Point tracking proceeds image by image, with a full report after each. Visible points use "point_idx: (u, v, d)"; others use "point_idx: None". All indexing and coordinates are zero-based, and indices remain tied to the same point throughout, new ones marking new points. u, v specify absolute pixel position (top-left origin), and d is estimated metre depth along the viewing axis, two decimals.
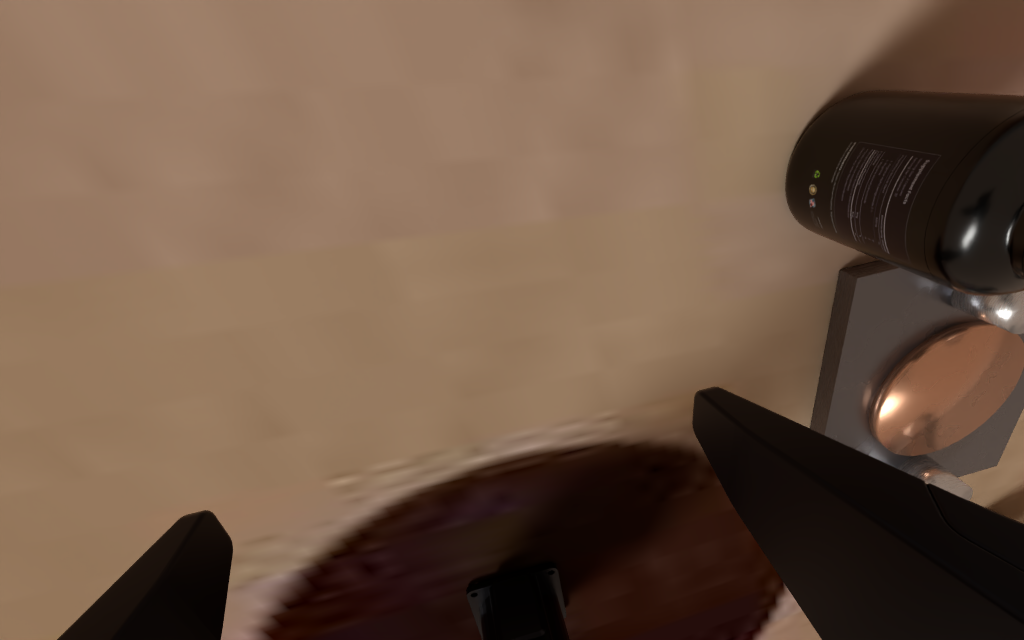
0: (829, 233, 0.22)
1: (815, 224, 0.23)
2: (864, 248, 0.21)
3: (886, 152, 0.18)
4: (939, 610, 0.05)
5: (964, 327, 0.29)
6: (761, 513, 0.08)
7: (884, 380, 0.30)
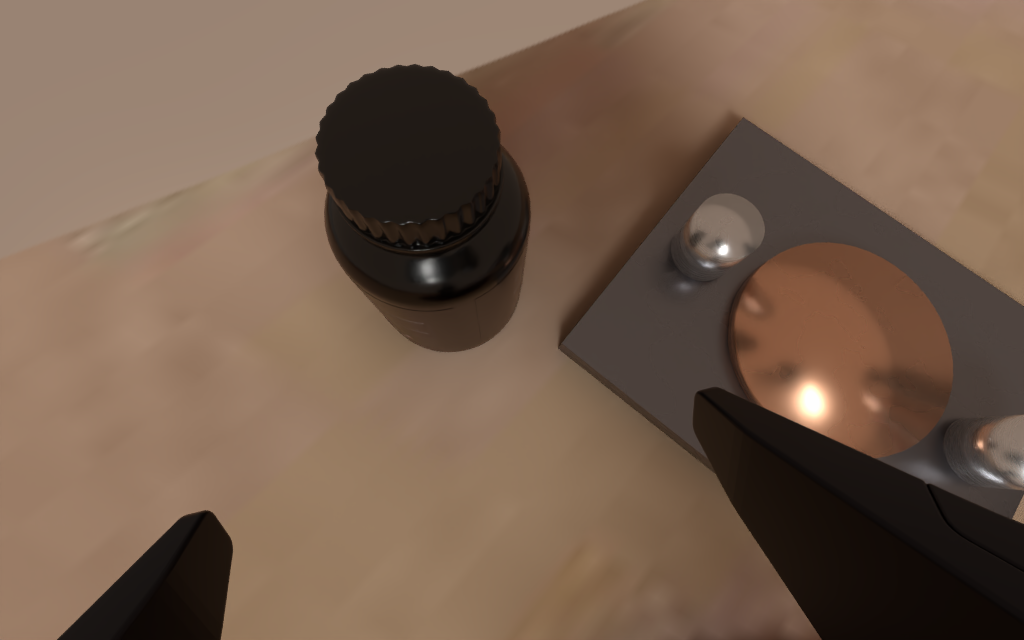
0: (442, 342, 0.20)
1: (437, 345, 0.21)
2: (440, 332, 0.18)
3: None
4: (940, 610, 0.05)
5: (744, 284, 0.23)
6: (761, 513, 0.08)
7: (745, 394, 0.22)
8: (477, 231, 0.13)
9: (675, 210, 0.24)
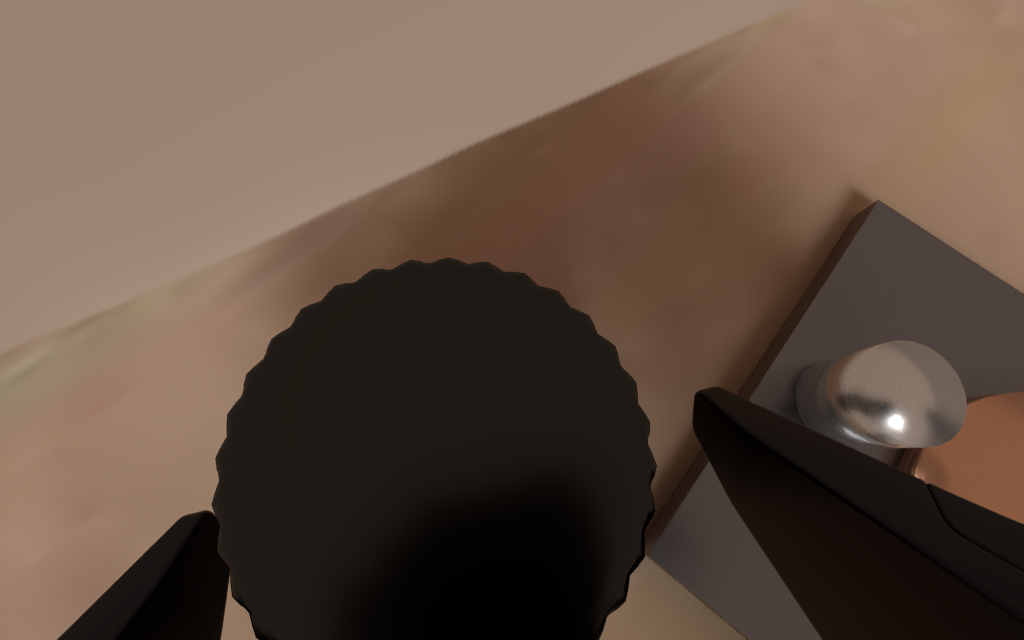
0: None
1: None
2: None
3: None
4: (939, 610, 0.05)
5: (911, 457, 0.16)
6: (761, 513, 0.08)
7: None
8: None
9: (797, 339, 0.17)
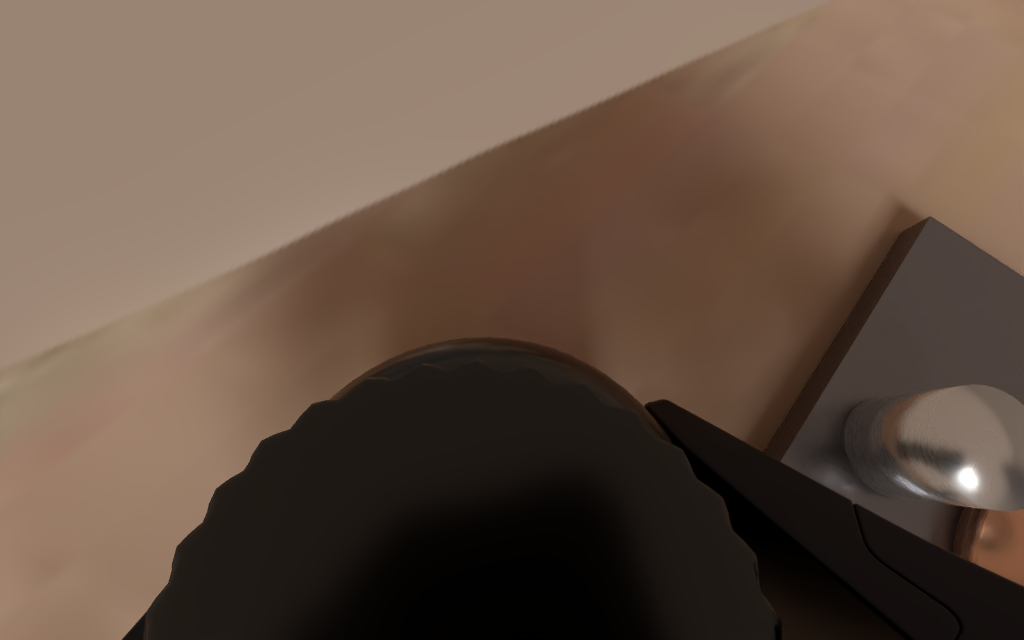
0: None
1: None
2: None
3: None
4: (854, 636, 0.05)
5: (975, 510, 0.14)
6: None
7: None
8: None
9: (844, 374, 0.15)
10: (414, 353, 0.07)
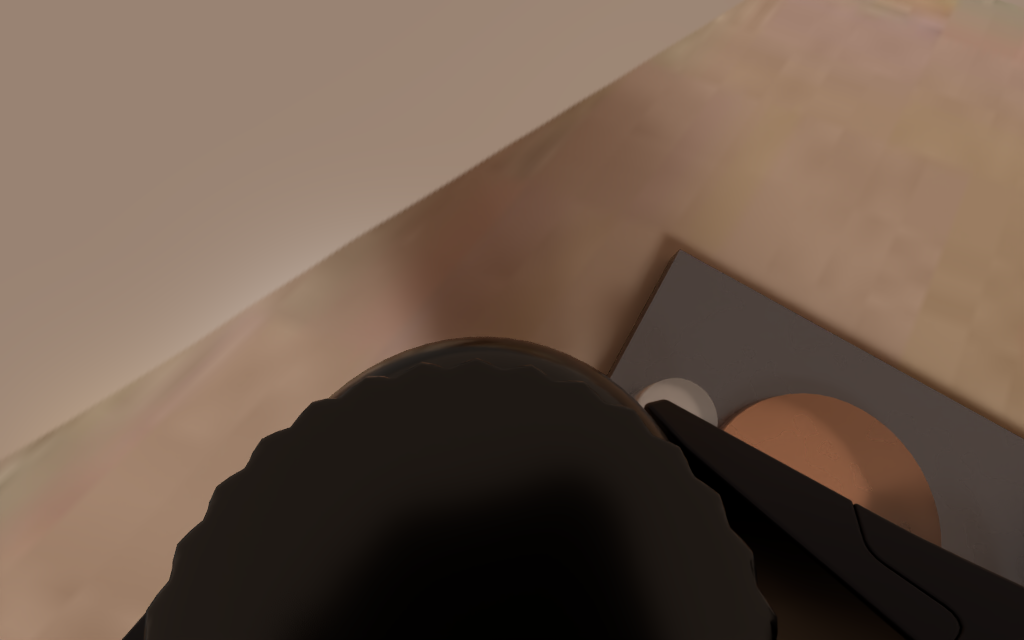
0: None
1: None
2: None
3: None
4: (853, 635, 0.05)
5: None
6: None
7: None
8: None
9: (619, 374, 0.22)
10: (412, 352, 0.07)
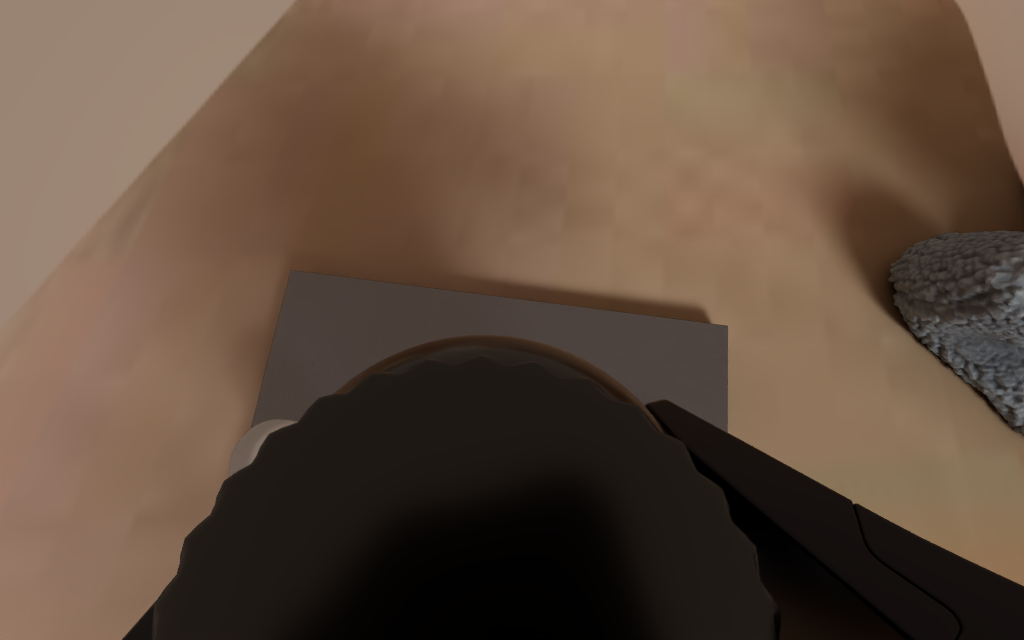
0: None
1: None
2: None
3: None
4: (854, 636, 0.05)
5: None
6: None
7: None
8: None
9: None
10: (414, 349, 0.07)
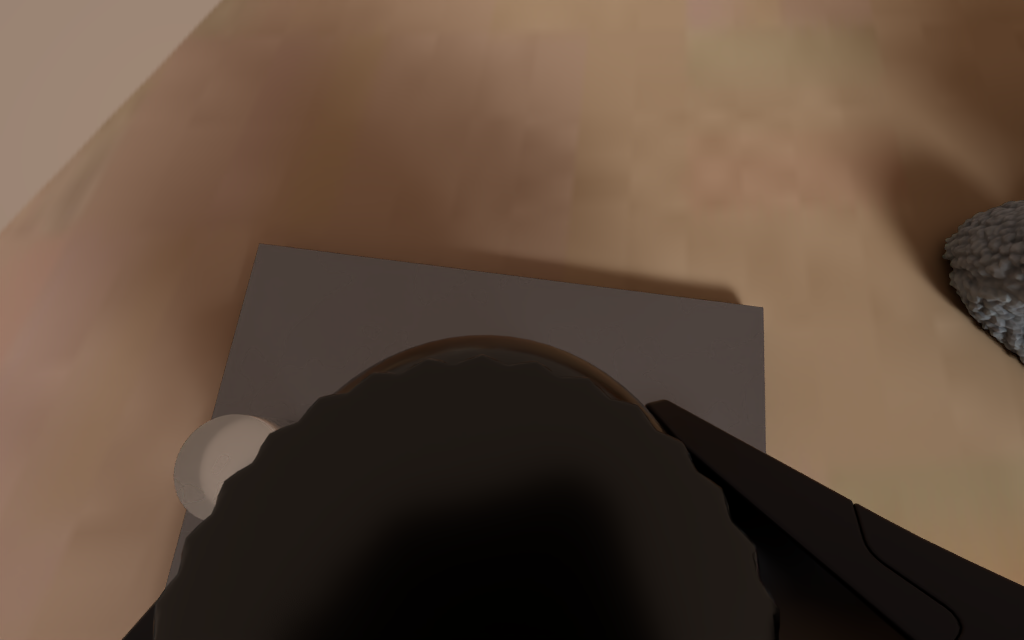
0: None
1: None
2: None
3: None
4: (854, 636, 0.05)
5: None
6: None
7: None
8: None
9: None
10: (414, 350, 0.07)
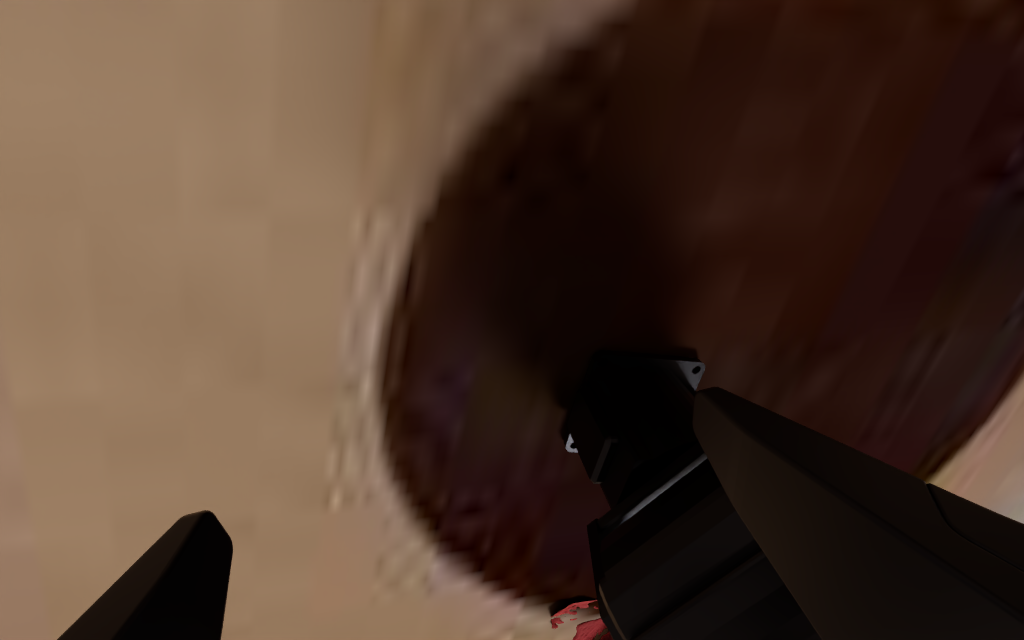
0: None
1: None
2: None
3: None
4: (939, 609, 0.05)
5: None
6: (761, 513, 0.08)
7: None
8: None
9: None
10: None
